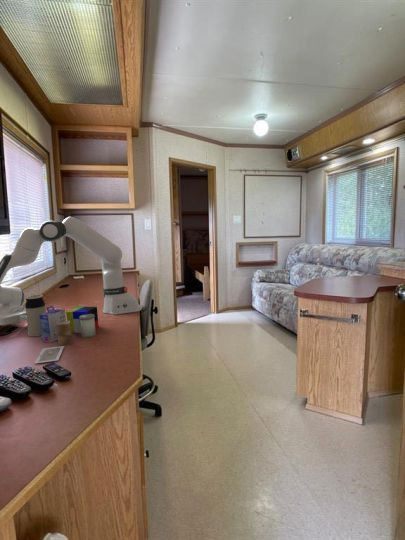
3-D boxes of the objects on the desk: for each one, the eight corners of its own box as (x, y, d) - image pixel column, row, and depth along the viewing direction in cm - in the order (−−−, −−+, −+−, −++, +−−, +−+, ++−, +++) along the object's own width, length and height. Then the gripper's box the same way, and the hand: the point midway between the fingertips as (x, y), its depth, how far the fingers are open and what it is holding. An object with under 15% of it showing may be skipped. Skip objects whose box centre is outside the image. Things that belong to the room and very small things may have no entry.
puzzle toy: (87, 333, 144) (85, 312, 143) (68, 332, 146) (66, 311, 145) (98, 326, 154) (96, 306, 152) (80, 326, 156) (78, 306, 154)
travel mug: (51, 332, 146) (47, 295, 144) (34, 337, 140) (30, 298, 138) (41, 330, 151) (37, 293, 148) (25, 335, 144) (20, 297, 142)
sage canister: (97, 332, 144) (95, 313, 143) (94, 336, 138) (93, 317, 137) (82, 333, 143) (80, 314, 142) (79, 338, 137) (77, 318, 136)
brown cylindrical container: (72, 340, 135) (70, 320, 134) (71, 344, 130) (69, 323, 129) (59, 342, 133) (57, 321, 132) (58, 346, 128) (56, 325, 127)
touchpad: (64, 348, 127) (64, 343, 126) (58, 363, 112) (58, 357, 112) (43, 351, 125) (42, 346, 124) (34, 366, 110) (33, 360, 110)
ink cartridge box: (58, 334, 144) (55, 303, 142) (68, 335, 142) (65, 304, 140) (41, 341, 134) (38, 309, 133) (51, 342, 133) (48, 309, 131)
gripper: (-9, 313, 147) (5, 316, 139) (34, 303, 164) (48, 306, 156) (-8, 326, 148) (6, 330, 140) (35, 315, 165) (50, 318, 157)
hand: (29, 317), depth 148 cm, fingers closed
